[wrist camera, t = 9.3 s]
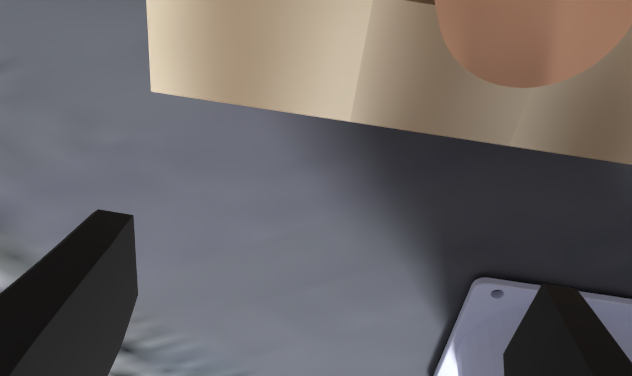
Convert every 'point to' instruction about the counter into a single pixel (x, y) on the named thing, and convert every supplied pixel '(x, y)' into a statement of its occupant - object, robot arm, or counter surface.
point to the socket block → (380, 73)
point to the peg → (531, 37)
